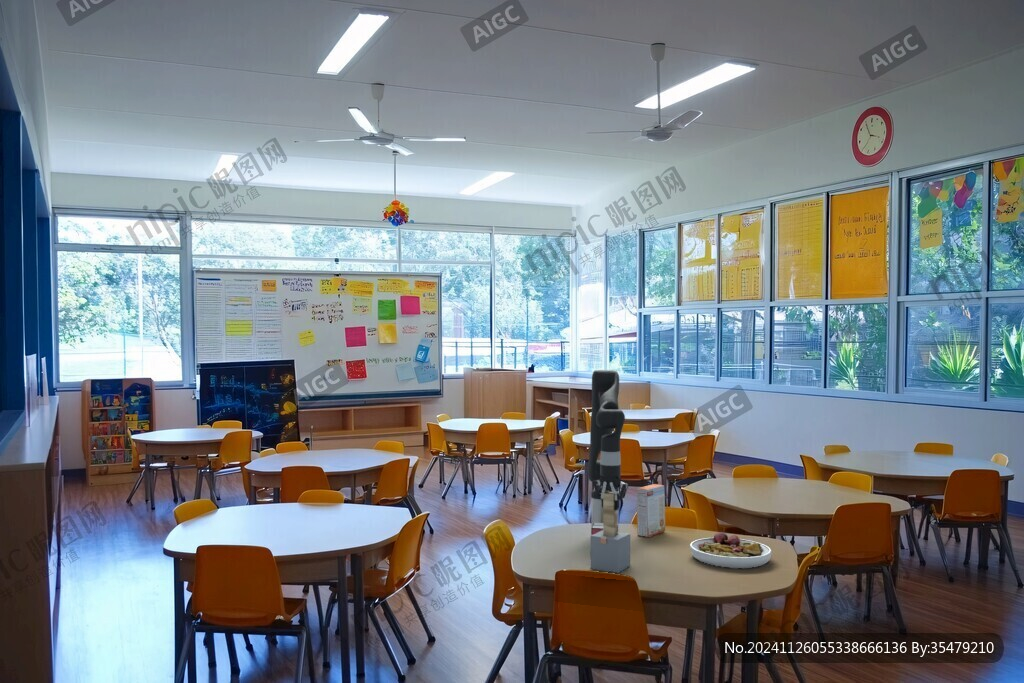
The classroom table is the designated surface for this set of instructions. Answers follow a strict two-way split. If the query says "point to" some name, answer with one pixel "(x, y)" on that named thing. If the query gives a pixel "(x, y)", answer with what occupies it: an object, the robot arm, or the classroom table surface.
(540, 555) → the classroom table surface
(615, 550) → the grey box
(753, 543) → the plate of food
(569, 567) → the classroom table surface
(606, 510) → the post
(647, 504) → the cracker box
